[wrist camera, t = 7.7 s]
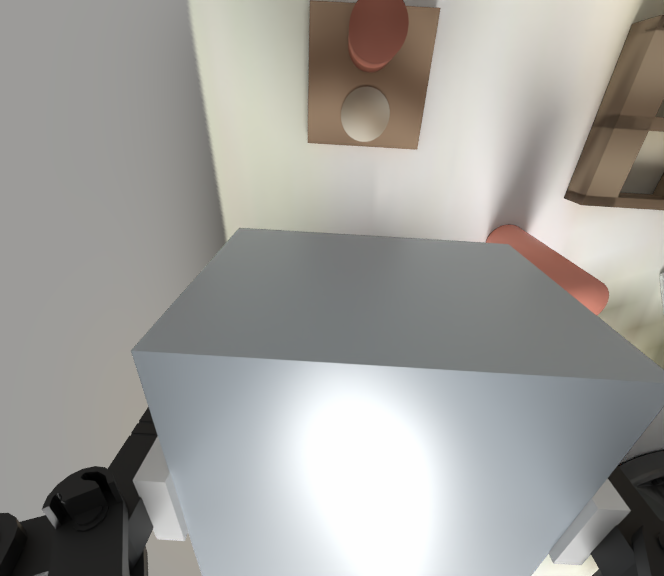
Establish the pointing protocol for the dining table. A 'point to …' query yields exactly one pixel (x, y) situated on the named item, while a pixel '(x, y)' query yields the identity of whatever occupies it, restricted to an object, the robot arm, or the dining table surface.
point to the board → (369, 72)
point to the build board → (624, 124)
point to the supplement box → (662, 288)
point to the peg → (554, 267)
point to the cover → (386, 406)
